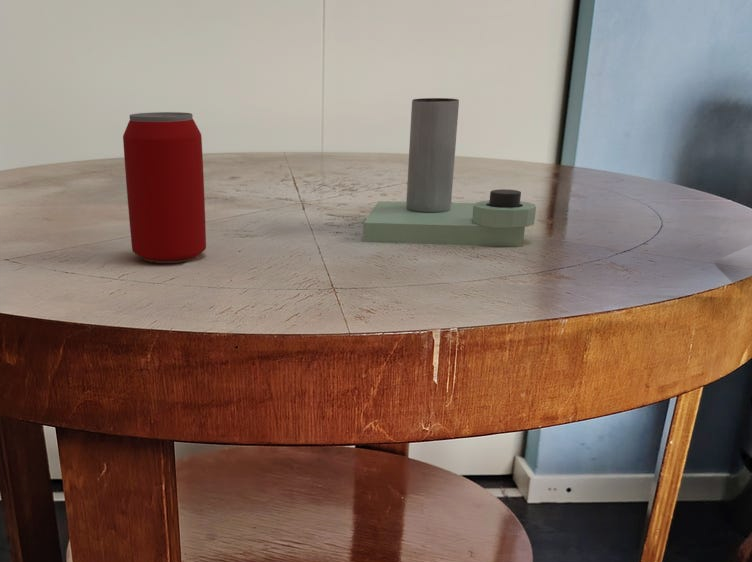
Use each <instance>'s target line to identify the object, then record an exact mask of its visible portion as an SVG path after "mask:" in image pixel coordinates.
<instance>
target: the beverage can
mask: <svg viewBox="0 0 752 562" xmlns="http://www.w3.org/2000/svg"><path fill="white" fill-rule="evenodd" d="M122 143H123V156H124V157H123V158H124V171H125V172H124V173H125V183H126V196H127V197H126V198H127V208H128V218H129V219H128V220H129V231H130V240H131V241H130V242H131V250H132V252H133V253H134V254H135V255H137V256H138V257H140V258H141V259H142V260H143V261H145V260H146V261H145V262H148V261H149V262H148V263H153V262H155V263H154V264H178V263H180V264H181V263H187V262H188V261H192V260H195V259H197V257H198V256H199V255H201V254H202V253H203V252H204V251H206V249H207V230H206V228H207V227H206V205H205V203H206V202H205V181H204V180H205V179H204V178H205V177H204V159H203V156H204V155H203V138H202V133H201V131H200V129H199V127H198V125H197V123H196V121H195V120H194V117H193V113H191V112H179V111H177V112H176V111H158V112H156V111H155V112H139V113H132V114H129V121H128V122H127V125H126V128H125V130H124V132H123V135H122Z"/></svg>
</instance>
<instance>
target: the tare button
mask: <svg viewBox="0 0 752 562" xmlns="http://www.w3.org/2000/svg"><path fill="white" fill-rule="evenodd" d="M521 197H522V192H521V190H517V189H492V190H490V191H489V200H490V201H489V206H490V207H499V208H515V207H520V201H521Z"/></svg>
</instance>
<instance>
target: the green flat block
mask: <svg viewBox="0 0 752 562" xmlns="http://www.w3.org/2000/svg"><path fill="white" fill-rule="evenodd" d="M489 201H490V199H489V200H480V201H475V202H451V208H450V210H448V211H444V212H416V211H410V210H408V209H407V208H406V201H391V200H390V201H388V200H385V201H383V200H379V201H377V202H376V204H375V206H373V208H372V210H371V211H370V213H369V214H368V216H367V217H366V219H365V220H364V222H363V228H362V230H363V231H362V232H363V233H362V242H363V243H388V244H390V243H391V244H418V245H419V244H421V245H423V244H424V245H452V246H453V245H456V246H485V247H486V246H489V247H519V248H520V247H524V240H525V239H524V238H525V231H526V228H527V227H529V226H532V225H533V226H534V225H535V219H536V212H537V211H536V209H537V206H536V204H535V203H531V202H529V201H521V200H520V207H515V208H499V207H490V206H489Z"/></svg>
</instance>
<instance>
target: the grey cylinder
mask: <svg viewBox="0 0 752 562" xmlns="http://www.w3.org/2000/svg"><path fill="white" fill-rule="evenodd" d="M459 107H460V100H459V98H449V97H446V98H444V97H425V98H424V97H423V98H413V99H411V109H410V110H411V112H410V129H409V148H408V149H409V150H408V165H407V166H408V167H407V183H406V185H407V186H406V187H407V188H406V201H405V202H406V208H407V209H408V210H410V211H416V212H444V211H448V210H450V208H451V203H452V198H453V183H454V174H455V173H454V172H455V171H454V170H455V157H456V146H457V134H458V133H457V132H458V119H459Z"/></svg>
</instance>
